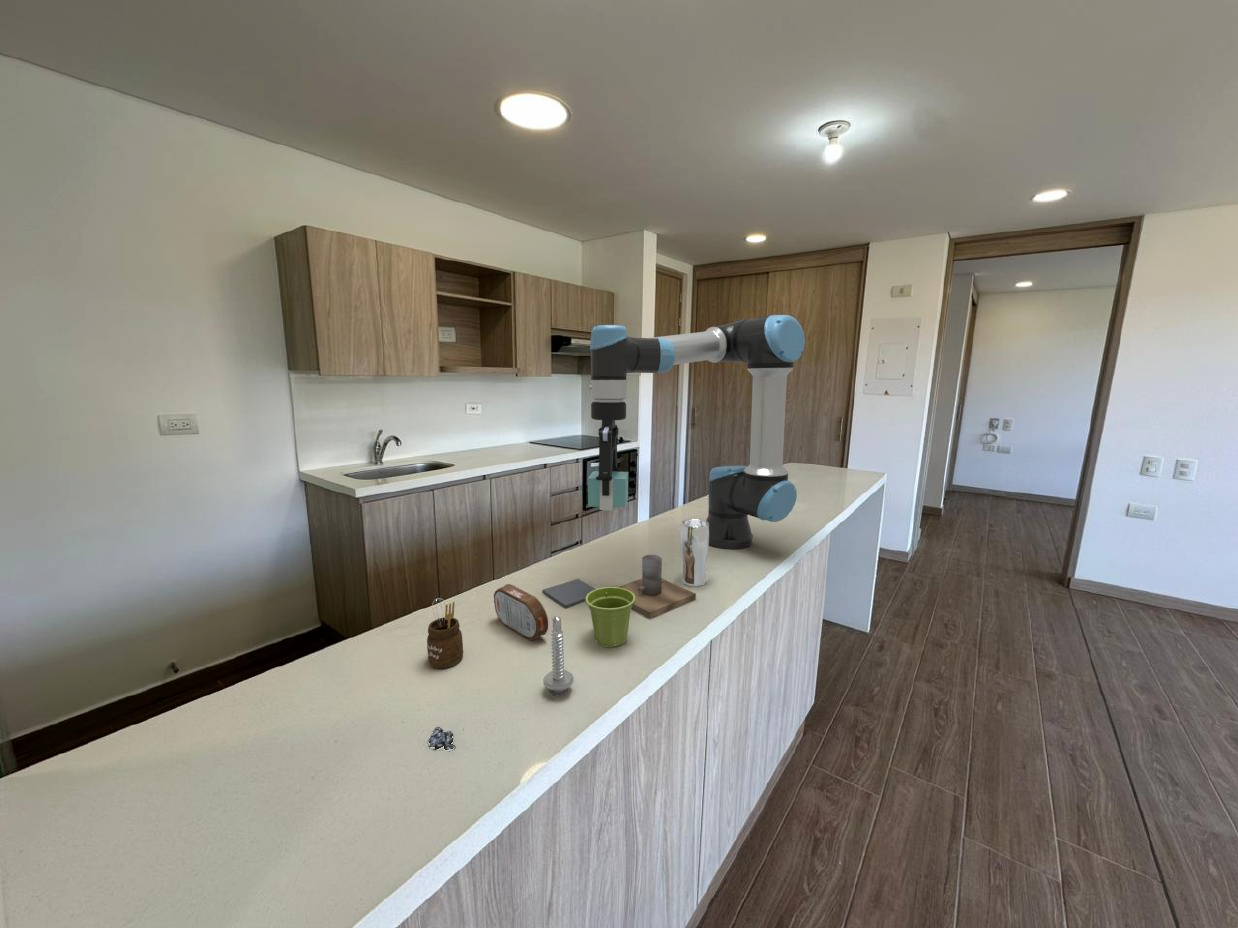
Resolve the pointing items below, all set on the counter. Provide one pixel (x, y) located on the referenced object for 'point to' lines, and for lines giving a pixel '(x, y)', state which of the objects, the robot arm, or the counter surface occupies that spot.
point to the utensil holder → (444, 640)
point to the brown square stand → (656, 590)
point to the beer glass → (694, 551)
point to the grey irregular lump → (441, 739)
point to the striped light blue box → (618, 489)
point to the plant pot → (610, 614)
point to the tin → (521, 611)
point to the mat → (569, 593)
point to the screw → (558, 664)
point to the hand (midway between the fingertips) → (608, 504)
